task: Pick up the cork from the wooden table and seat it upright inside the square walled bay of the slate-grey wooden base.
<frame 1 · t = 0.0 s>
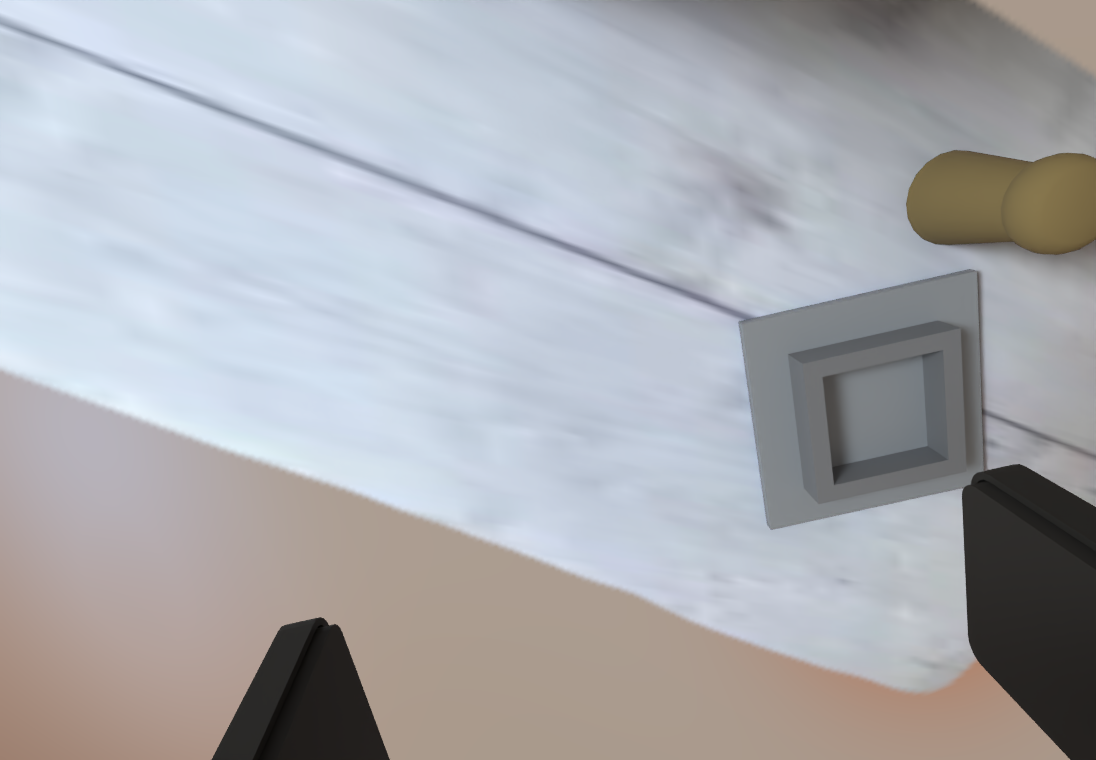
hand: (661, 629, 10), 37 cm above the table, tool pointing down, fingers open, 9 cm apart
bay base: (863, 403, 49), on the table
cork: (949, 198, 45), on the table
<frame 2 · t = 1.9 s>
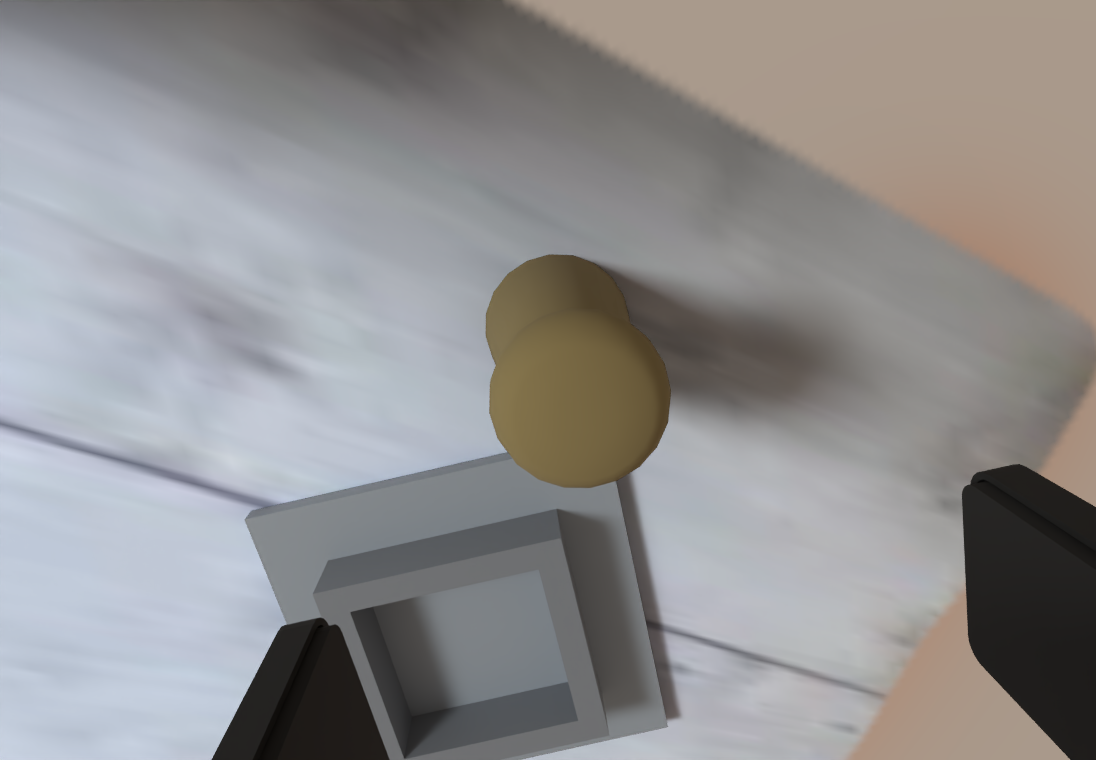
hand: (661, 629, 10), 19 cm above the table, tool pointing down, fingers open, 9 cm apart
bay base: (472, 619, 32), on the table
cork: (557, 325, 29), on the table
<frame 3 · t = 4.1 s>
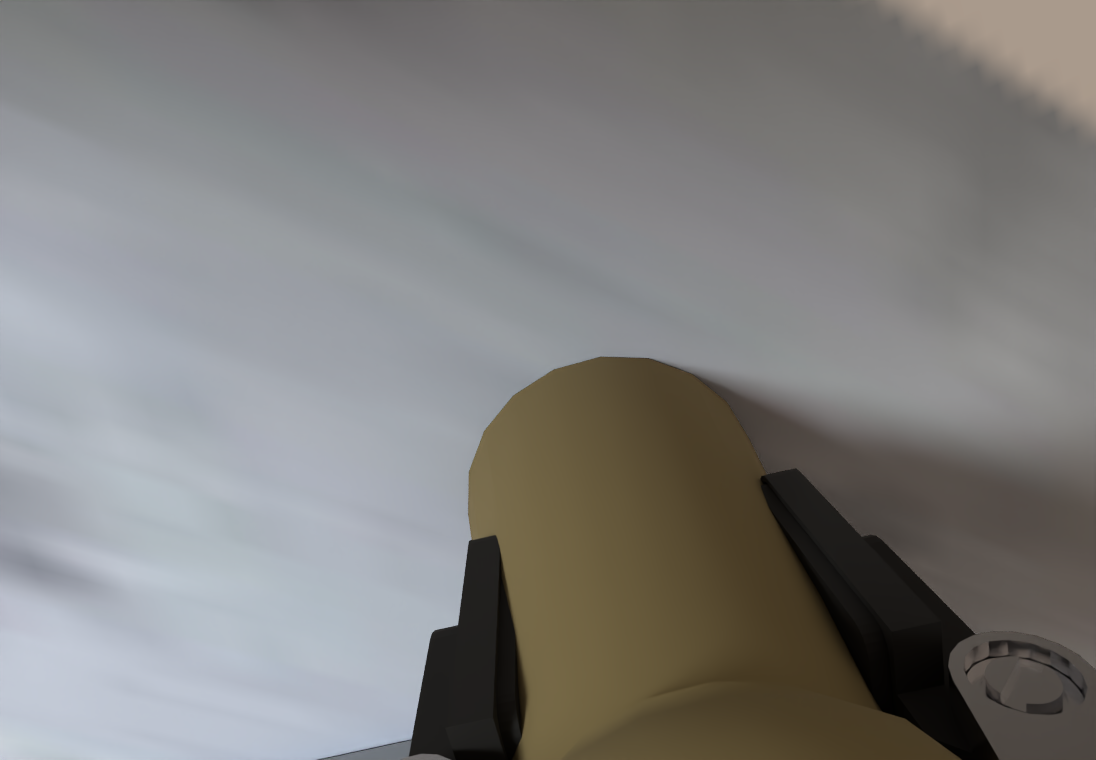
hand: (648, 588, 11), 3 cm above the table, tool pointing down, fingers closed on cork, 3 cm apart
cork: (611, 492, 14), on the table, touching gripper
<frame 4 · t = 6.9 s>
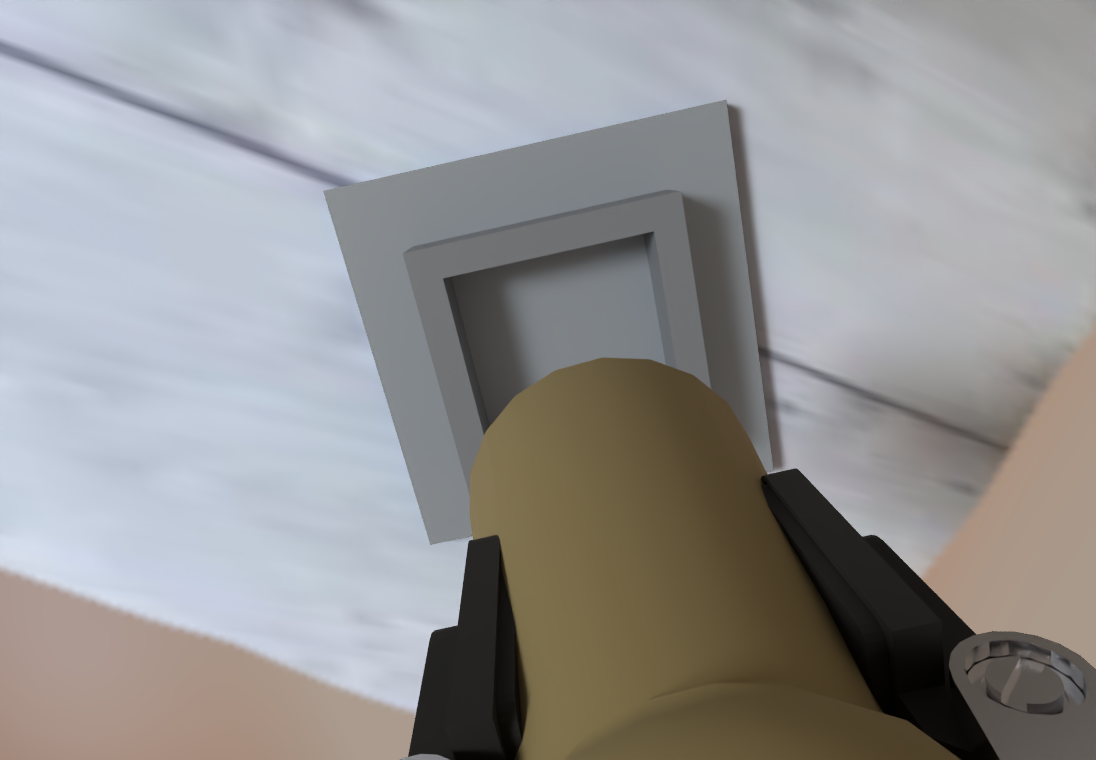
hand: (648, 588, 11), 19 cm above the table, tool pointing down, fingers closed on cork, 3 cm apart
bay base: (564, 337, 30), on the table
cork: (612, 492, 14), point 16 cm above the table, touching gripper
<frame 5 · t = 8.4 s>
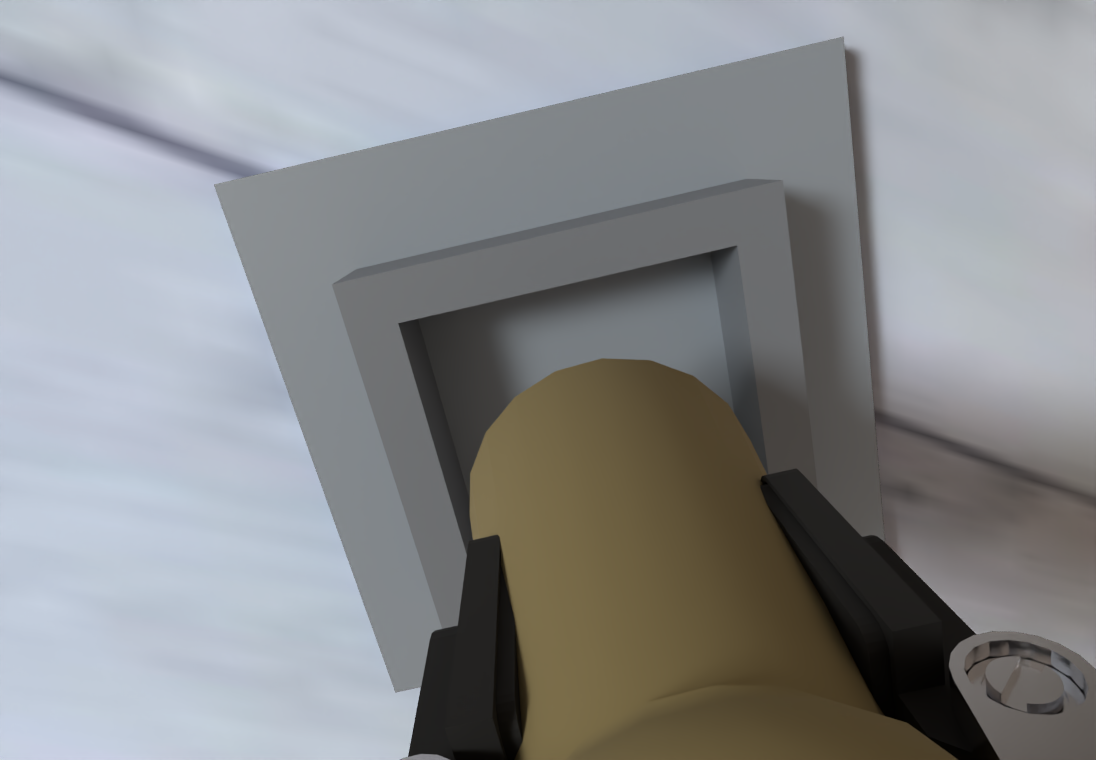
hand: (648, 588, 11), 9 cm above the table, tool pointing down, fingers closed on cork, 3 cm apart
bay base: (587, 398, 20), on the table
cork: (612, 493, 14), point 6 cm above the table, touching gripper
when the fingers open (5 cm above the table, at t = 9.7 s): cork stays where it is, resting on bay base.
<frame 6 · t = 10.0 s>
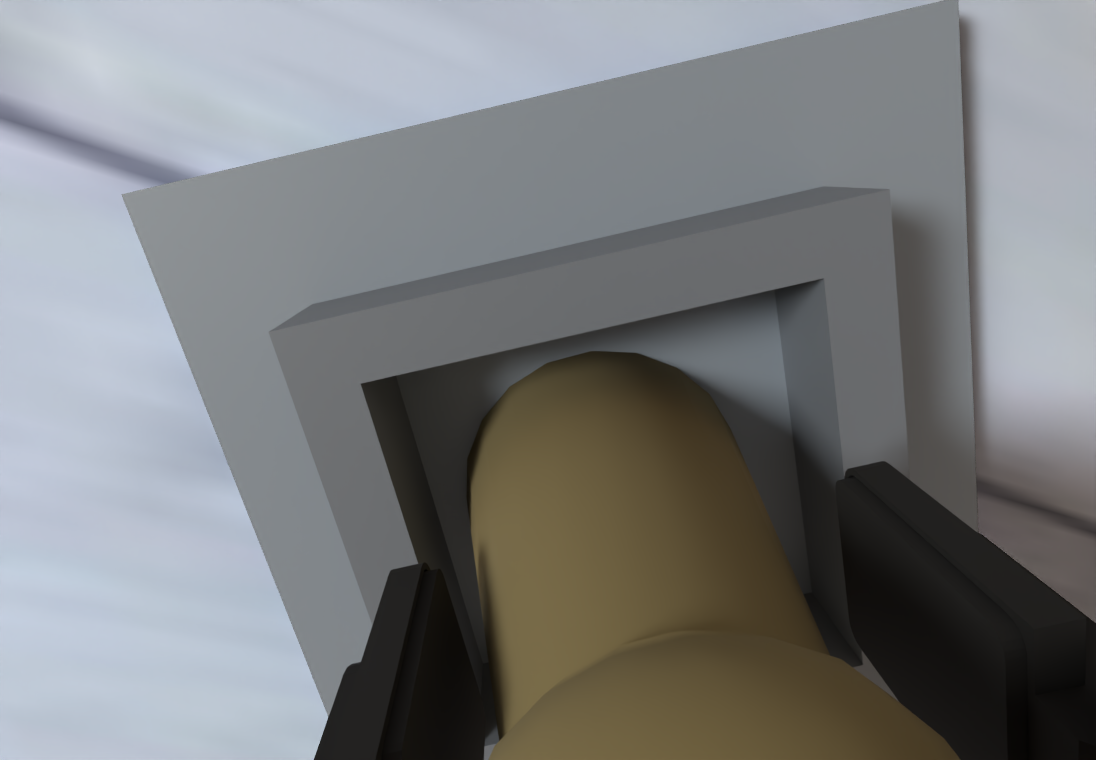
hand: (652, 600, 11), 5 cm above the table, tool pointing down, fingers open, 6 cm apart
bay base: (610, 463, 16), on the table
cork: (601, 478, 15), point 1 cm above the table, touching bay base
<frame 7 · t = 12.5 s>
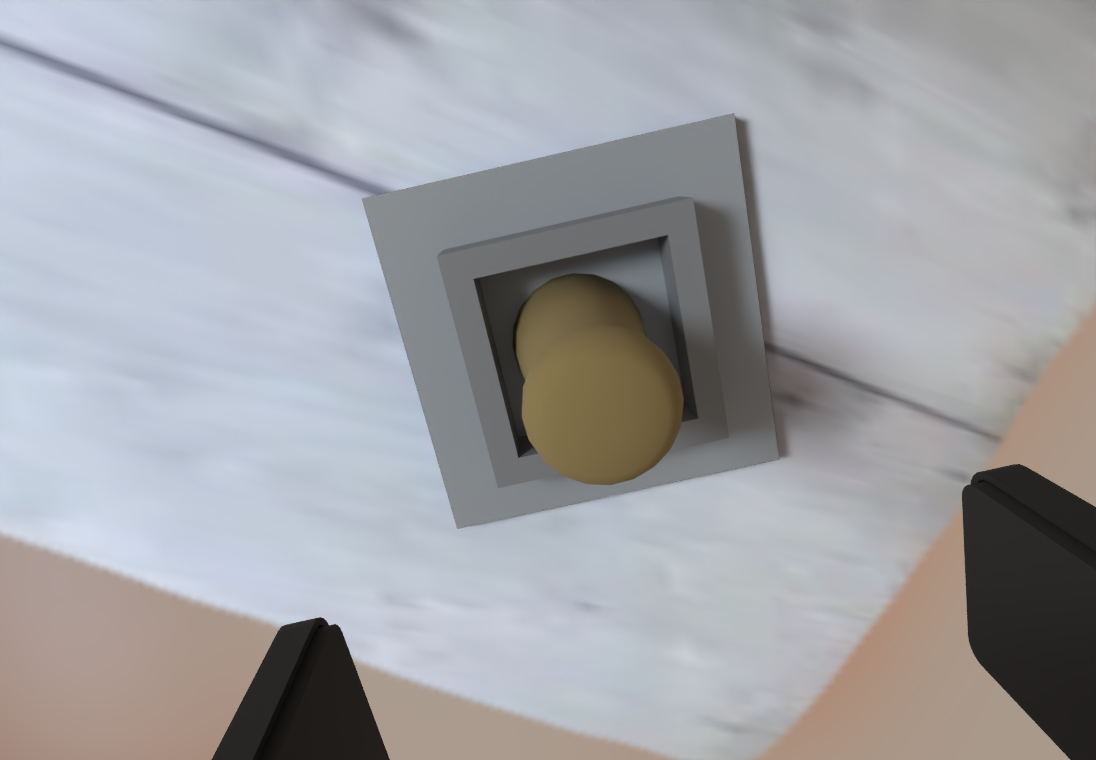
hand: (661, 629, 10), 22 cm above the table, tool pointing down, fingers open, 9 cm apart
bay base: (583, 333, 32), on the table
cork: (578, 338, 31), point 1 cm above the table, touching bay base
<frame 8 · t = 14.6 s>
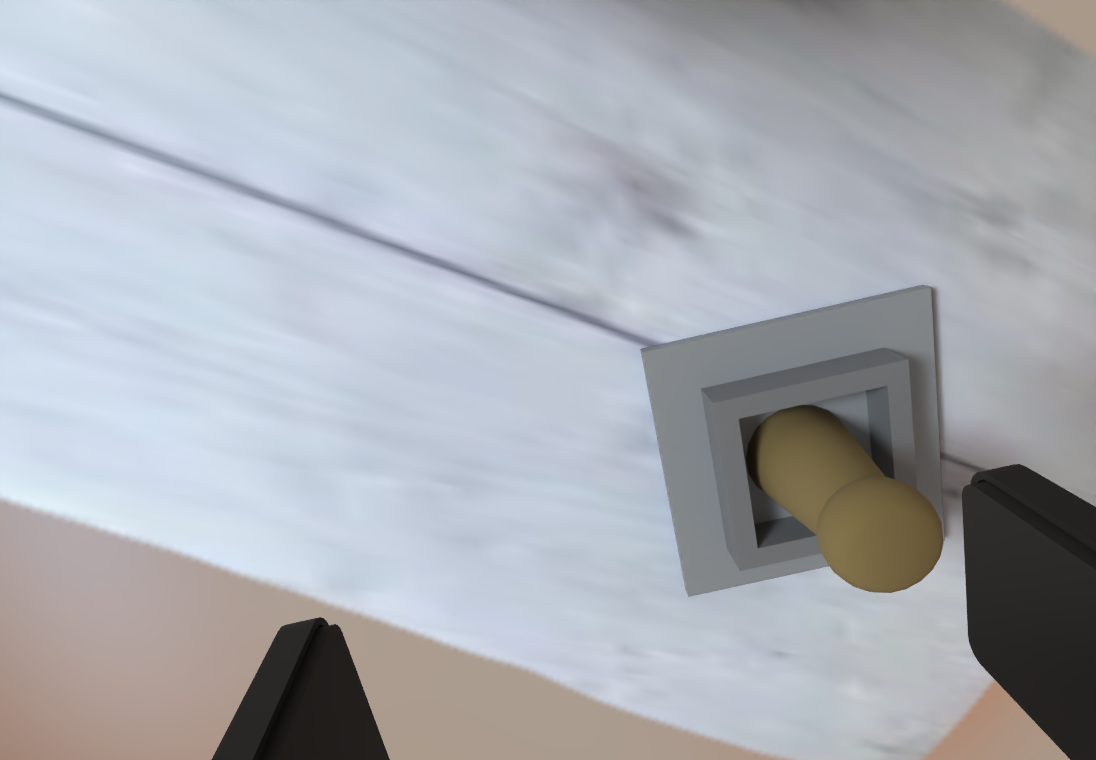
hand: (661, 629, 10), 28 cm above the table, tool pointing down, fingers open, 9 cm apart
bay base: (796, 446, 40), on the table
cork: (796, 451, 40), point 1 cm above the table, touching bay base
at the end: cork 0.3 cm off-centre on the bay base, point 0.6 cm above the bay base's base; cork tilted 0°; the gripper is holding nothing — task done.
